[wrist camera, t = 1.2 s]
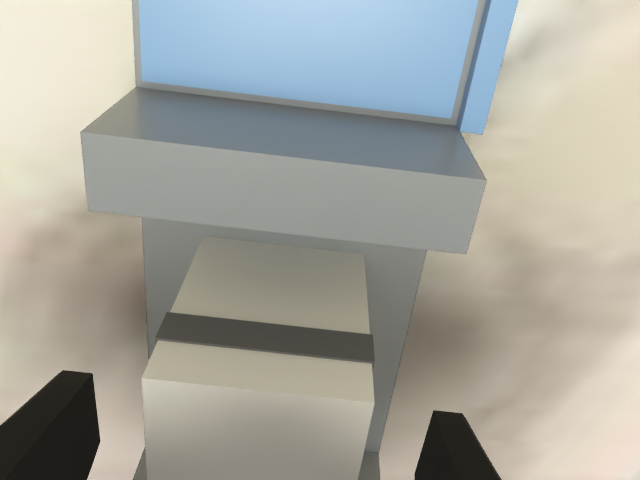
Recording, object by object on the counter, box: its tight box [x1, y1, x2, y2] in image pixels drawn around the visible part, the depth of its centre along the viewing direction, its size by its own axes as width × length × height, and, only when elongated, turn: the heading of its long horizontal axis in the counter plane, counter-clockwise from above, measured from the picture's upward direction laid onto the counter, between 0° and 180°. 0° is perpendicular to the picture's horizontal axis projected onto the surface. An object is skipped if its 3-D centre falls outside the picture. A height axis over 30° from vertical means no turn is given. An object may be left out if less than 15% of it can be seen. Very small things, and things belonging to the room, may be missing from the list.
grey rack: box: [80, 0, 518, 480], centre depth 12 cm, size 22×8×4 cm, turn 173°
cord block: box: [141, 236, 375, 480], centre depth 13 cm, size 5×4×5 cm
